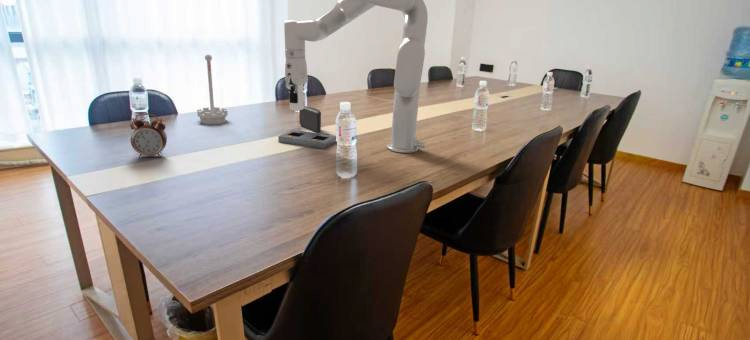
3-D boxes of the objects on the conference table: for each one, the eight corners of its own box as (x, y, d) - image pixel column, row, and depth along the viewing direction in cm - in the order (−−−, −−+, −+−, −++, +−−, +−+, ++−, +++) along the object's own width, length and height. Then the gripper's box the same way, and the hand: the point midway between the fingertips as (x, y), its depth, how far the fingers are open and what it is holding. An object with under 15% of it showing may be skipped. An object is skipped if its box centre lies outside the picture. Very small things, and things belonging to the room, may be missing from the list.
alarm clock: (132, 159, 144) (125, 115, 139) (135, 154, 148) (129, 112, 143) (167, 158, 147) (162, 115, 142) (170, 153, 151) (165, 111, 146)
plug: (303, 108, 173) (302, 80, 169) (298, 110, 169) (298, 81, 165) (293, 107, 174) (292, 79, 170) (288, 109, 171) (287, 80, 167)
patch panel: (336, 141, 177) (336, 135, 176) (324, 149, 166) (324, 142, 165) (293, 135, 183) (293, 129, 182) (278, 142, 172) (278, 135, 171)
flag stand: (196, 118, 202) (191, 52, 192) (226, 117, 207) (221, 53, 197) (199, 125, 191) (193, 55, 181) (229, 123, 196) (225, 56, 186)
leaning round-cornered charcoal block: (326, 132, 190) (326, 111, 187) (317, 133, 188) (317, 112, 184) (307, 124, 202) (307, 104, 199) (298, 125, 199) (298, 105, 196)
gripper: (293, 56, 156) (294, 106, 162) (314, 53, 171) (314, 99, 177) (275, 55, 158) (277, 104, 164) (297, 52, 173) (298, 98, 179)
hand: (296, 101), depth 171 cm, fingers closed on plug, 4 cm apart
